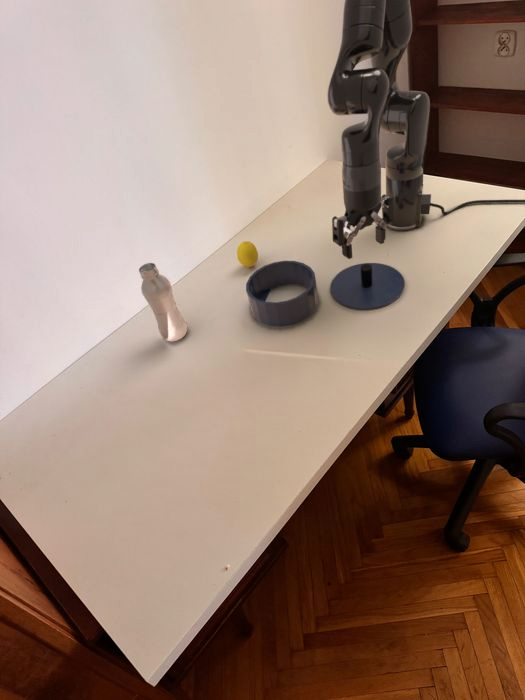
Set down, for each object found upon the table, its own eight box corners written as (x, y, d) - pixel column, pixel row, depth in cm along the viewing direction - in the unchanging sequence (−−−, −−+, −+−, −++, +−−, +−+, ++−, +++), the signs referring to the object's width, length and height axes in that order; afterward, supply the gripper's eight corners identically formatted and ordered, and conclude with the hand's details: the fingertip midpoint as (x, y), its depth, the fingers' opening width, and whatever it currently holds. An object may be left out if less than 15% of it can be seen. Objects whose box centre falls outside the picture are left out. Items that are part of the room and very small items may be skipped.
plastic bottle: (160, 333, 116) (129, 266, 102) (186, 322, 117) (158, 255, 103) (166, 348, 112) (134, 281, 98) (193, 337, 113) (165, 269, 99)
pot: (324, 285, 117) (321, 261, 112) (309, 330, 107) (305, 305, 102) (263, 283, 122) (257, 260, 117) (243, 325, 112) (236, 302, 107)
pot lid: (407, 267, 116) (408, 245, 112) (400, 314, 105) (400, 292, 101) (338, 265, 122) (336, 245, 117) (324, 309, 111) (321, 289, 106)
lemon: (264, 262, 129) (258, 237, 124) (253, 274, 126) (247, 249, 121) (247, 259, 132) (241, 234, 126) (236, 271, 129) (229, 246, 123)
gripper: (342, 200, 90) (347, 270, 102) (402, 174, 93) (401, 244, 105) (321, 187, 96) (328, 255, 107) (379, 163, 99) (380, 231, 110)
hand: (364, 249), depth 106 cm, fingers open, 8 cm apart
